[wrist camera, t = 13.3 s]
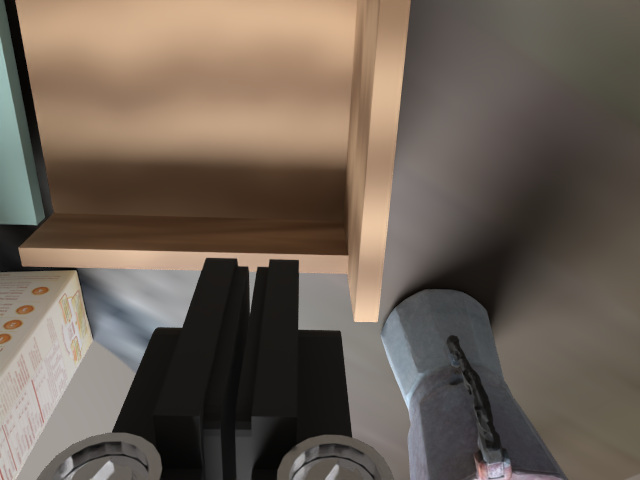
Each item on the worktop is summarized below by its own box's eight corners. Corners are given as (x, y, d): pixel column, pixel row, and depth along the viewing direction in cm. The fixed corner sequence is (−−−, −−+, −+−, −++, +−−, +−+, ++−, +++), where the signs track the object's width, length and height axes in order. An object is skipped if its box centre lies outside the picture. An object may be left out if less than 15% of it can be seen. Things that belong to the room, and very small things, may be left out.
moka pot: (396, 410, 50) (450, 662, 32) (349, 265, 43) (384, 477, 25) (503, 384, 49) (621, 627, 31) (471, 231, 42) (598, 426, 24)
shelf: (22, -151, 31) (-171, -234, 18) (380, -131, 32) (431, -198, 19) (81, 224, 41) (-18, 337, 28) (353, 231, 42) (375, 344, 29)
